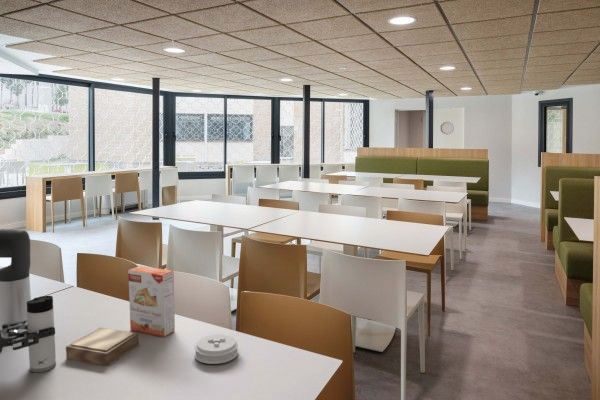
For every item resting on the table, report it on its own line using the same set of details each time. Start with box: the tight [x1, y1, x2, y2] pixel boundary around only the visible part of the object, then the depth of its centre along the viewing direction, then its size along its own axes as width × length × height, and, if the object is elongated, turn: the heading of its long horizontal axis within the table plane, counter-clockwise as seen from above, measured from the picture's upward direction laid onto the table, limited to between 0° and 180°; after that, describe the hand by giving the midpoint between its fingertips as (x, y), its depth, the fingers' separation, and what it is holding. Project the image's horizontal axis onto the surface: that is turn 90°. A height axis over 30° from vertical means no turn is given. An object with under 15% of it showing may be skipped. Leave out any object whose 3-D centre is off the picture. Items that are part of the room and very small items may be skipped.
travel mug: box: [27, 295, 57, 373], centre depth 122 cm, size 6×7×20 cm
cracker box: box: [127, 265, 176, 338], centre depth 146 cm, size 14×6×21 cm, turn 68°
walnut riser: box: [65, 327, 140, 367], centre depth 133 cm, size 14×14×4 cm
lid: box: [194, 334, 239, 365], centre depth 131 cm, size 13×13×5 cm
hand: (50, 326), depth 123 cm, fingers closed on travel mug, 6 cm apart
